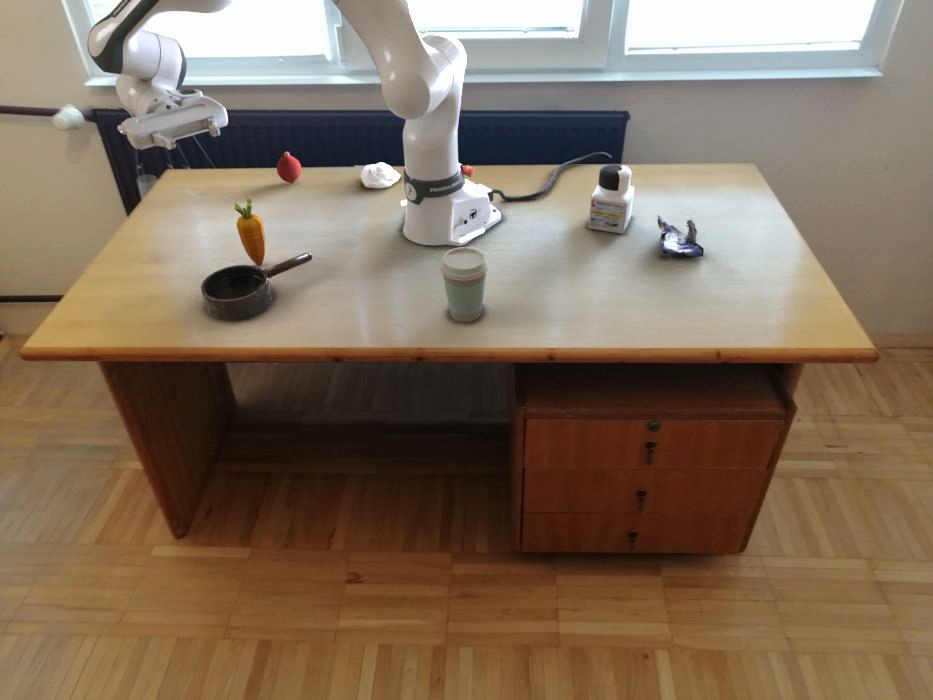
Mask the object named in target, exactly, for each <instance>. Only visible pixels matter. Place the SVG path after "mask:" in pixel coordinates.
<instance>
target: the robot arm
mask: <svg viewBox="0 0 933 700" xmlns="http://www.w3.org/2000/svg"><path fill="white" fill-rule="evenodd" d="M331 1H332V3H333V4H334V5H335V7H336V8H337V9H338V10H339V12H340V13H341V15H342V16H343V17H344V19H345V20H346V21H347V23H348V24H349V25H350V26H351V28H352V29H353V30H354V32H355V33H356V34H357V36H358V37H359V39H361V42H362V43H363V45H364V47H365V48H366V50H367V53H368V54H369V56H370V58H371V60H372V62H373V65H374V68H375V70H376V72H377V74H378V77H379V79H380V85H381V95H382V99H383V101H384V104H385V106H386V108H388V110H389V111H390V112H391V113H392V114H394V115H395V116H396V117H398V118H401V119H404V120H405V123H404V125H403V130H402V147H403V158H404V160H403V161H404V169H403V184H404V192H405V197H406V199H404V200H401V201H400V205H401V207H403V206H405V216H404V222H403V226H402V234H403V236H404V237H405V238H406V239H408V240H409V241H411V242H413V243H416V244H417V245H418V244H419V245H422V246H423V245H424V246H453V247H463V246H464V245H466V244H467V243H469V242H470V241H472V240H473V239H475V238H477V237H478V236H479V235H481V234H484V233H485V231H487V230H488V229H490V228H491V227H493V226H494V225H495V224H497V223H499V222H500V221H502V214H501V212H500V211H499V209H498V208H496V207H495V206H494V205H492V204H491V202H493V201H494V194H498V195H499V196H500V198H501V199H502V200H504V201H511V202H512V201H526V200H531V199H535V198H538V197H540V196H542V195H543V194H545V193H547V191H548V190H549V189H550V187H551V186H552V184H553V183H554V181H555V180H556V177H557V174H558V173H559V172H560V171H561V170H562V169H564V168H566V167H569V166H570V165H571V166H572V165H575V164H577V163H582V162H584V161H586V160H589V159H592V158H595V157H605V158H607V159H612V156H611V155H610V154H609V153H607V152H603V151H598V152H593V153H590V154H588V155H584V156H582V157H579V158H576V159H575V158H574V159H572V160H569V161H566V162H563V163H562V164H560V165H559V166H557V167H556V168H555V169H554V171H553V172H552V175H551V177H550V179H549V180H548V182H547V183H546V185H545V186H544V187H543V189H541V190H540V191H537V192H534V193H531V194H527V195H522V196H509V195H505V193H504V192H503V190H501V189H498V188H489V187H487V186H486V185H483V184H482V183H478V184H476V183H474V182H472V181H471V180H469V179H467V178H466V177H465V176H467V177H468V178H472V177H473V176H474V175H475V171H476V170H475V169H474V167H471V166H469V165H464V166H463V164H462V163H460V162H459V150H458V149H459V144H458V142H459V141H458V138H459V137H458V135H459V134H458V133H459V131H458V130H459V119H460V113H461V104H462V95H463V84H464V83H463V82H464V75H465V69H466V66H467V54H466V51H465V48H464V46H463V44H462V43H461V42H460V40H458V38H456V37H455V36H453V35H452V34H449V33H445V32H440V33H439V32H438V33H433V34H430V35H426V36H424V37H422V36H421V35H420V33H419V30H418V28H417V26H416V24H415V22H414V19H413V15H412V11H411V9H412V8H411V4H410V1H409V0H331ZM233 2H234V0H121V1H119V2H118V4H117V5H116V6H115V7H114V8H113V9H112V11H111V12H109V13H108V14H107V15H105V16H104V17H103V18H101V19H100V20H99V21H97V22H96V23H95V24H93V26H92V28H91V29H90V31H89V32H88V37H87V42H86V43H87V52H88V55H89V56H90V58H91V59H92V61H93V62H94V63H95V64H96V66H97V67H98V68H99V69H100V70H101V71H102V72H103V73H108V74H114V75H118V76H117V78H116V80H115V91H116V94H117V97H118V99H119V101H120V102H121V104H122V105H123V106H124V107H125V108H126V109H127V110H128V111H129V112H130V113H131V114H132V115H133V116H131V117H128V118H126V119H125V120H124V121H122V122H121V124H118V125H117V128H116V129H117V131H118V132H119V133H120V134H122V135H124V136H126V138H127V140H128V142H129V144H130V145H131V146H132V147H133V148H134V149H135V150H145V149H149V148H152V147H155V146H156V147H161V148H166V149H167V150H169V151H170V150H173V149H176V148H177V145H176V141H177V140H180V139H184V138H188V137H192V136H194V135H199V134H203V133H206V132H209V135H210V136H212V138H216V137H219V136H221V130H220V129H221V128H224V127H227V126H228V124H229V118H228V112H227V109H226V108H225V106H224V105H223V104H221V103H220V102H218V101H217V100H215V99H213V98H212V97H210V96H206V95H204V94H203V92H202V91H201V90H200V89H197V88H196V89H195V88H194V89H180V88H181V87H182V86H183V83H184V81H185V78H186V74H187V69H188V67H187V66H188V64H187V58H186V56H185V53H184V50H183V48H182V47H181V45H180V44H179V42H178V41H177V40H176V39H175V38H173V37H172V38H171V37H168V36H165V35H162V34H159V33H156V32H151V31H148V30H146V29H143V28H144V27H146V25H147V24H148V23H149V22H150V20H152V19H153V18H154V17H155V16H157V15H159V14H162V13H168V12H186V13H187V12H188V13H189V12H190V13H198V14H213V13H218V12H221V11H222V10H224V9H226V8H227V7H228V6H229V5H230V4H232V3H233Z"/></svg>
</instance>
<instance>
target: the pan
mask: <svg viewBox="0 0 933 700" xmlns="http://www.w3.org/2000/svg"><path fill="white" fill-rule="evenodd" d="M263 270H264V269H262V268H261V267H259V266H255V265H249V264H236V265H230V266H227V267H223V268H221V269H219V270H216V271H214V272H212V273H210V274H209V275H207V276H206V277H205V279H204V280H203V281H202V283H201V287H200V290H201V294H202V297H203V301H204V304H205V307H206V310H207V312H208V314H209V315H210V316H211V317H213V318H214V319H217V320H220V321H225V322H235V321H242V320H243V321H244V320H246V319H250V318H253V317H256V316H257V315H260V314H261V313H262V312H264V311H265V310H266V309H267V308H268V307H269V306H270V304H271V303H272V301H273V294H272V293H273V292H272V289H271V285H270V281H269V279H268V277H267V274H266V272H265V271H263ZM259 272H260V273H261V274H260V273H259ZM260 275H261V276H262V277H263V278H262V277H260Z"/></svg>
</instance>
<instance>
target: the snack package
mask: <svg viewBox="0 0 933 700" xmlns="http://www.w3.org/2000/svg"><path fill="white" fill-rule="evenodd" d="M676 220H677V221H678V220H679V219H676ZM686 224H687V225H686V227H687V228H688V229H687V234H686V233H683V232H681V231H680V230H679V229H678V228H677V227H676V226H674V224H673V225H672V224H671V225H670V224H669V223H668V222H667V221H665V220H664V219H663V218H662V217H661V216H660V215H659V214H657V226H658V228H659V229H658V230H659V231H660V233H661V235H660V243H661V250H662V254H663V255H667V254H678V255H680V256H681V257H678V258H682V259H684V258H686V259H687V258H688V259H691V258H693V259H694V258H697V257H703V256H704V255H705V252H704V251H705V250H704V247H702V245H700V244H699V243H697V233H698V231H697V228H696V224H695V222H694V221H692V219H689V220H687V221H686Z"/></svg>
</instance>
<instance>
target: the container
mask: <svg viewBox="0 0 933 700" xmlns="http://www.w3.org/2000/svg"><path fill="white" fill-rule="evenodd" d="M631 178H632V171H631V169H630V168H629V167H628V166H626V165H624V164H620V163H610V164H606V165H603V166H601V168H600V169H599V174H598V184H597V186H596V188H595V189H594V191H593V193H592V195H591V196H590V207H589V217H588V228H589V229H592V230H599V231H603V232H609V233H615V234H620V235H621V234H624V232H625V230H626V228H627V226H628V224H629V222H630V219H631V217H632V210H633V202H634V195H635V186H633V185H631V180H632V179H631Z"/></svg>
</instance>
